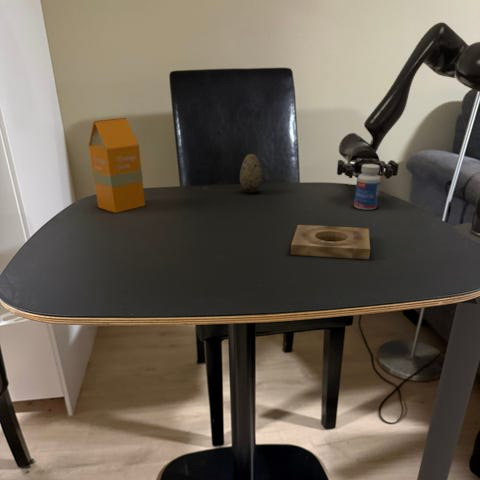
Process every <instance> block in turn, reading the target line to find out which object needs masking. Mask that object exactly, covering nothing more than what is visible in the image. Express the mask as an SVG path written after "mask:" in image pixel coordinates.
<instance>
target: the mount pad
mask: <svg viewBox="0 0 480 480" xmlns="http://www.w3.org/2000/svg"><path fill="white" fill-rule="evenodd" d="M290 255H291V256H305V257H306V256H308V257H322V258H323V257H324V258H335V259H336V258H337V259H338V258H339V259H355V260H356V259H357V260H370V257H371V239H370V228H368V227H350V226H349V227H348V226H332V225H331V226H329V225H310V224H297V227H296V229H295V232H294V235H293V238H292V241H291V244H290Z"/></svg>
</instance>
